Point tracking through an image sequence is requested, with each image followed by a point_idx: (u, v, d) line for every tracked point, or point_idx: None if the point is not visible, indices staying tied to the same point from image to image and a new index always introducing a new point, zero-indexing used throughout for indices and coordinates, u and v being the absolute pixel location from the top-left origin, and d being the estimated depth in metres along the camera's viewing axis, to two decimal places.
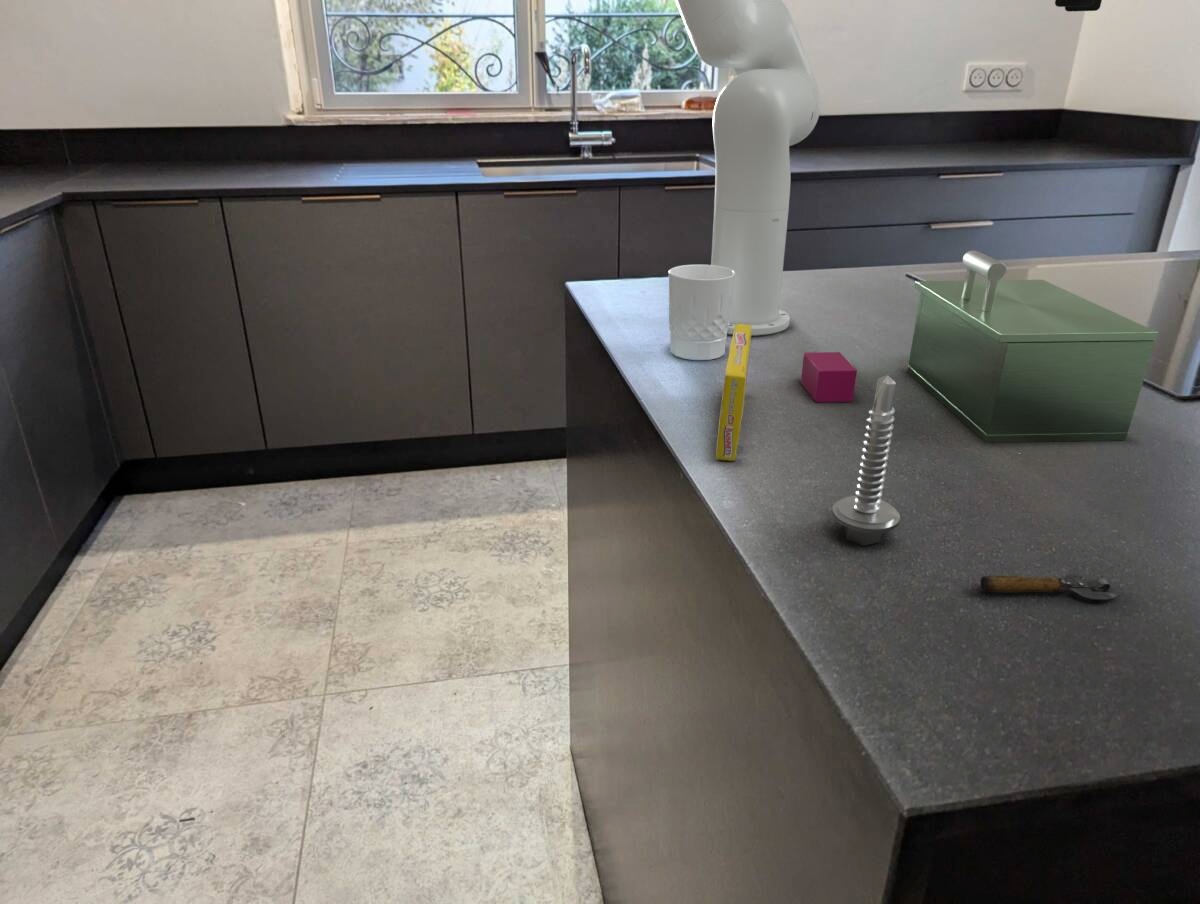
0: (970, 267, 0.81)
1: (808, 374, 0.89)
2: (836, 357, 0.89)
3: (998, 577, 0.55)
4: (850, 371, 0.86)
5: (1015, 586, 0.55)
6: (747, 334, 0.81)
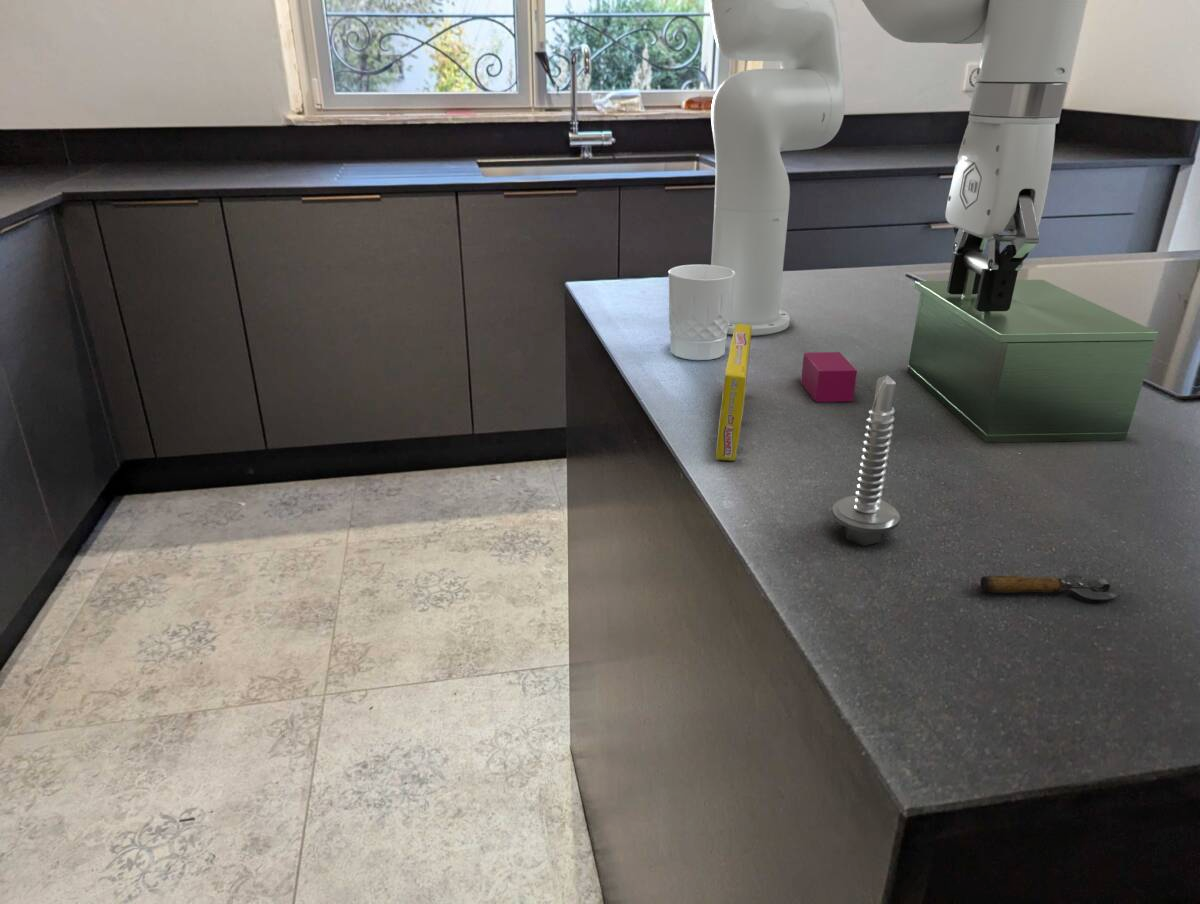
0: (970, 267, 0.81)
1: (808, 374, 0.89)
2: (836, 357, 0.89)
3: (998, 577, 0.55)
4: (850, 371, 0.86)
5: (1015, 586, 0.55)
6: (747, 334, 0.81)
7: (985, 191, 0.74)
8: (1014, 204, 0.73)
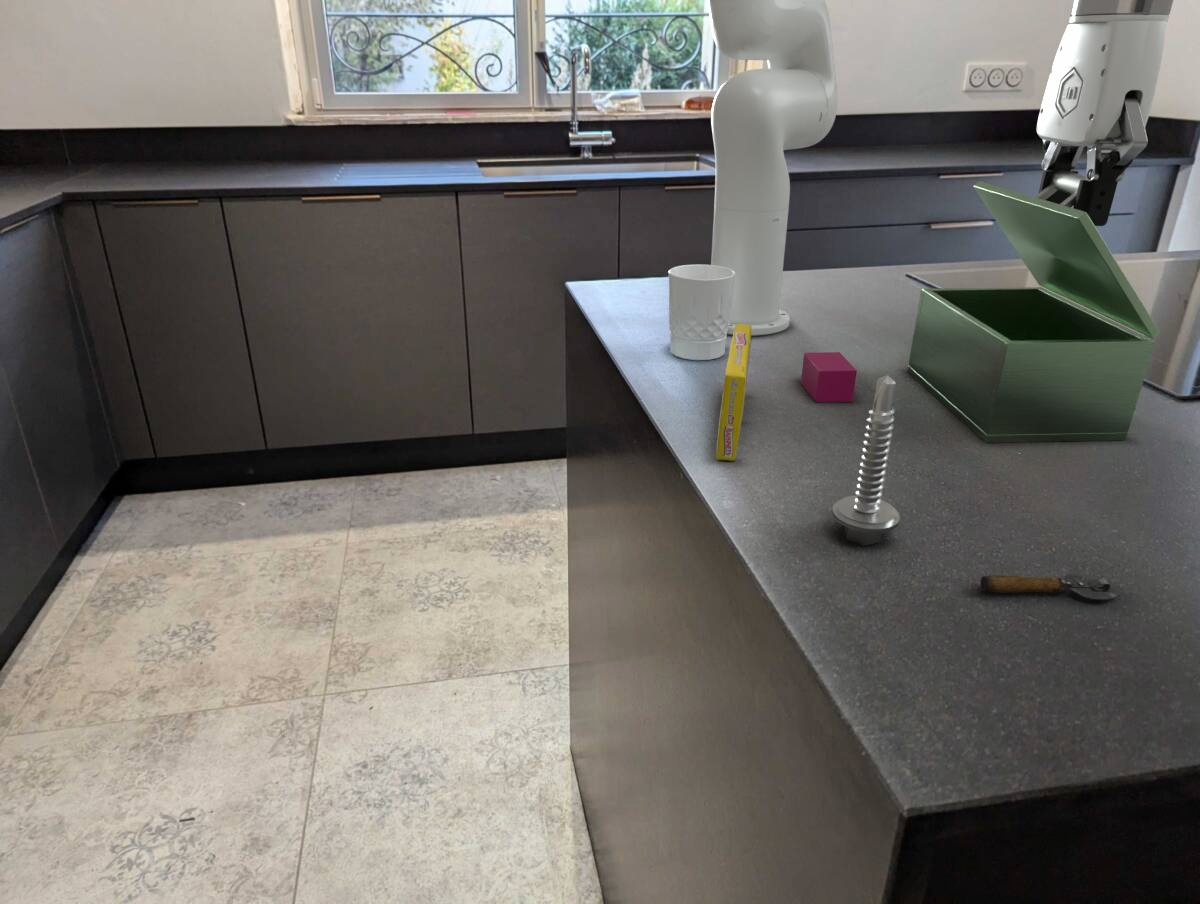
0: (1060, 179, 0.78)
1: (808, 374, 0.89)
2: (836, 357, 0.89)
3: (998, 577, 0.55)
4: (850, 371, 0.86)
5: (1015, 586, 0.55)
6: (747, 334, 0.81)
7: (1087, 95, 0.71)
8: (1120, 107, 0.70)
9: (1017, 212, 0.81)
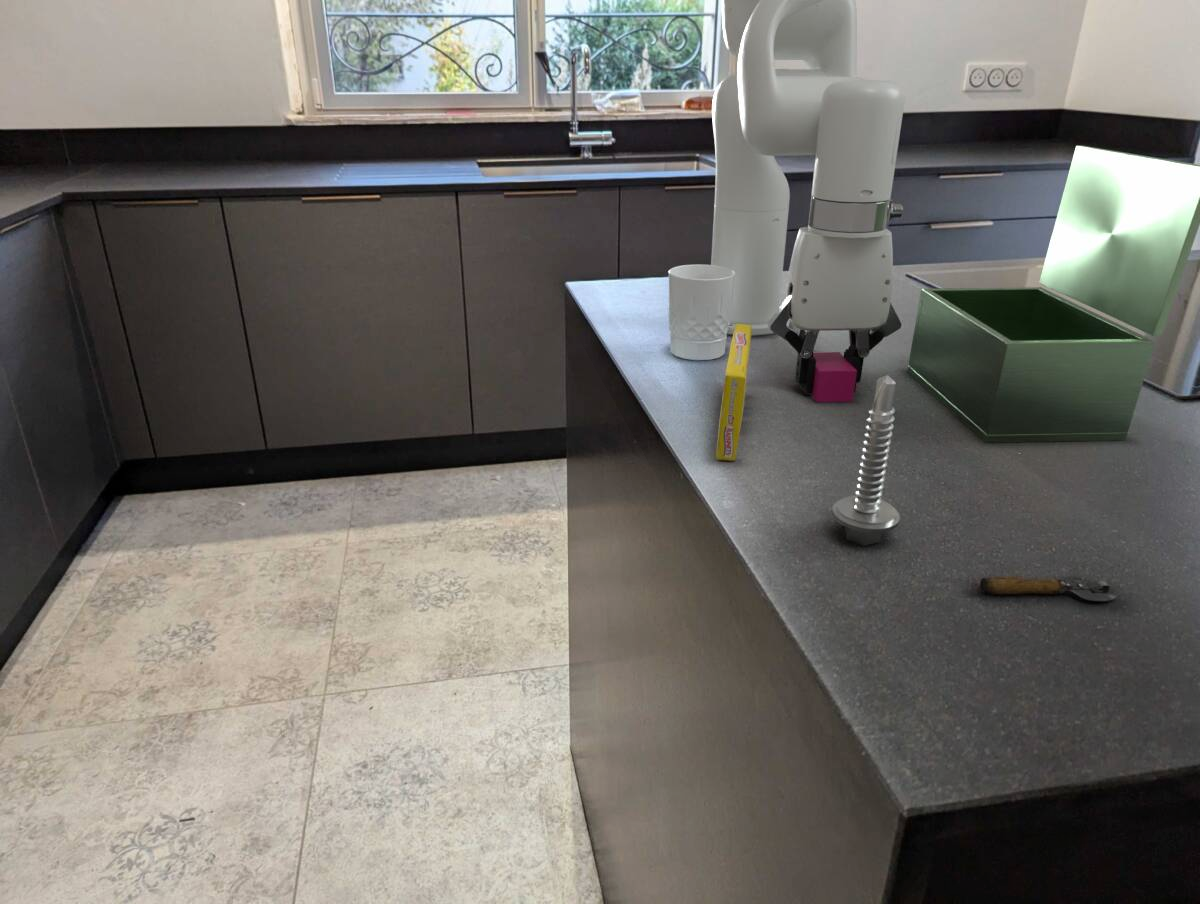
0: None
1: None
2: (836, 357, 0.89)
3: (998, 579, 0.55)
4: (850, 371, 0.86)
5: (1014, 588, 0.55)
6: (747, 334, 0.81)
7: None
8: (787, 293, 0.86)
9: (1113, 175, 0.79)
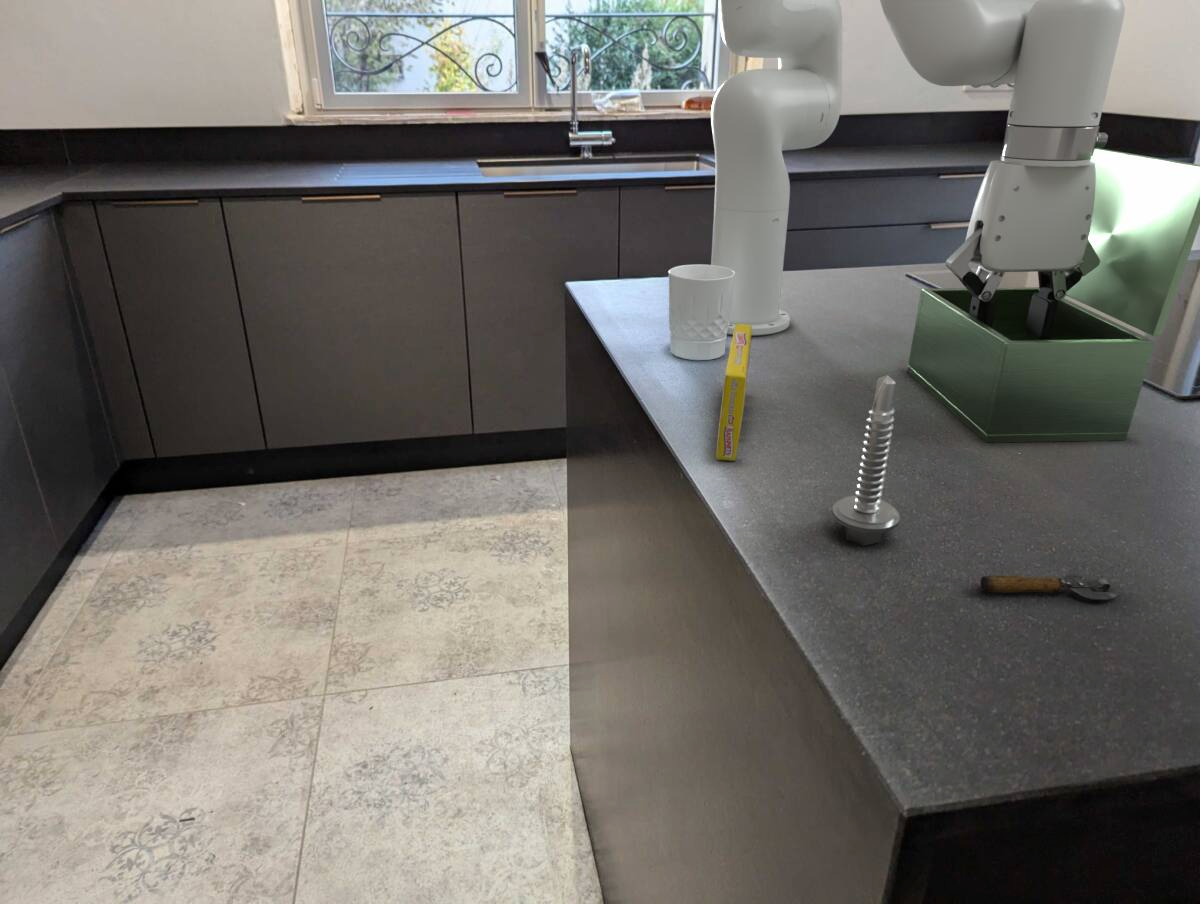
0: None
1: None
2: None
3: (998, 577, 0.55)
4: None
5: (1015, 586, 0.55)
6: (747, 334, 0.81)
7: None
8: (972, 232, 0.80)
9: (1113, 175, 0.79)
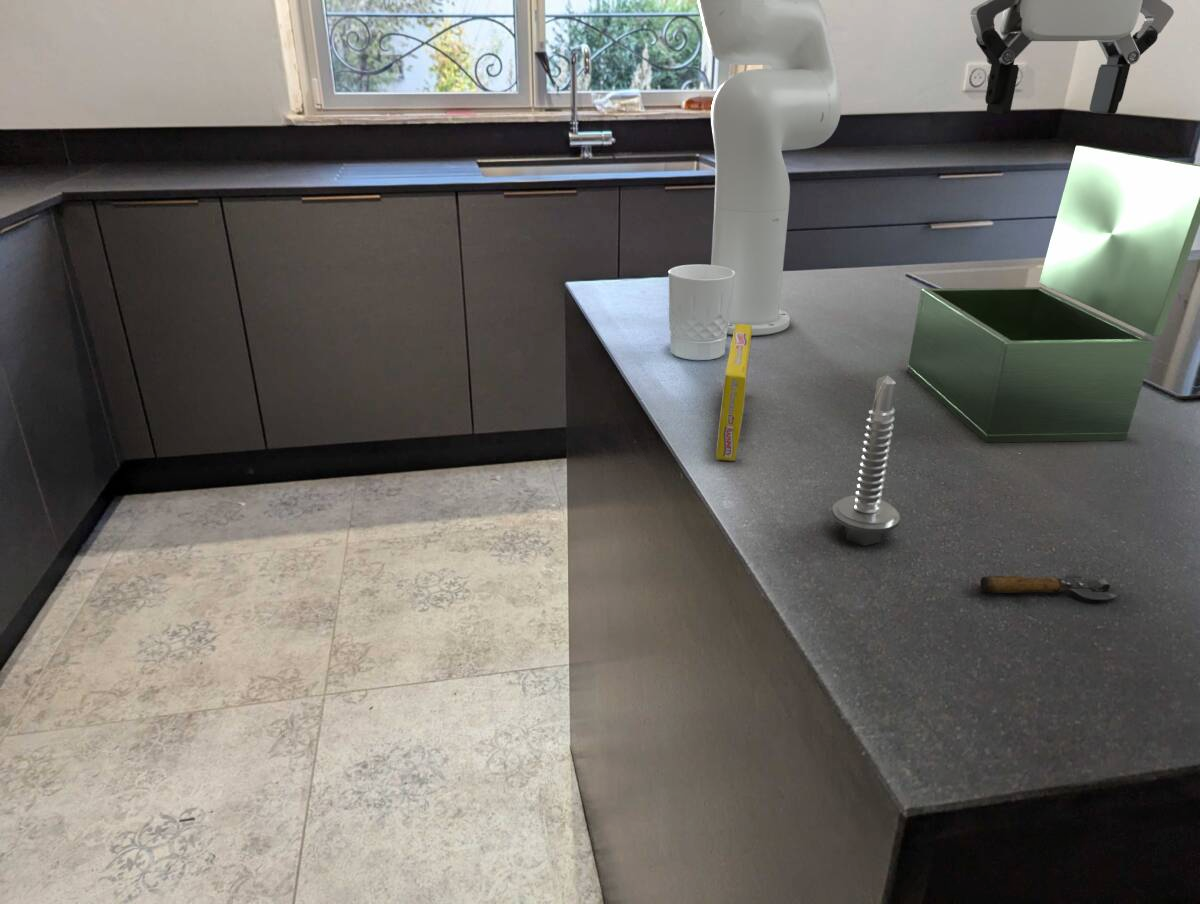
0: None
1: None
2: None
3: (998, 577, 0.55)
4: None
5: (1015, 586, 0.55)
6: (747, 334, 0.81)
7: None
8: None
9: (1113, 175, 0.79)
